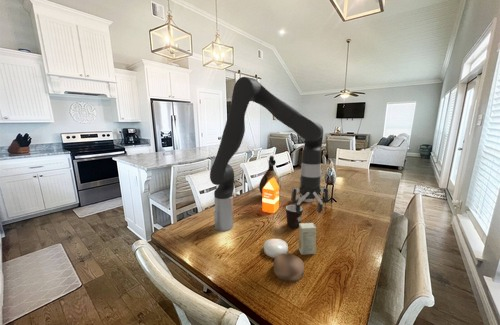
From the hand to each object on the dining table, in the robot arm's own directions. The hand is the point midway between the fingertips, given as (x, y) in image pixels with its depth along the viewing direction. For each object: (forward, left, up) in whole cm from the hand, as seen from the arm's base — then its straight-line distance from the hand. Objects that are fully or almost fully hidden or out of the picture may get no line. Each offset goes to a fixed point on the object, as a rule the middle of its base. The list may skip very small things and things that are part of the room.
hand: (308, 212), depth 84 cm
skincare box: (0, 0, -18) cm, 18 cm away
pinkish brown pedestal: (-10, -11, -18) cm, 23 cm away
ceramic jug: (-8, +63, -18) cm, 66 cm away
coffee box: (+17, +57, -18) cm, 62 cm away
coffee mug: (+1, +22, -18) cm, 29 cm away
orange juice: (-10, +42, -18) cm, 47 cm away
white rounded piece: (-13, +1, -18) cm, 22 cm away
